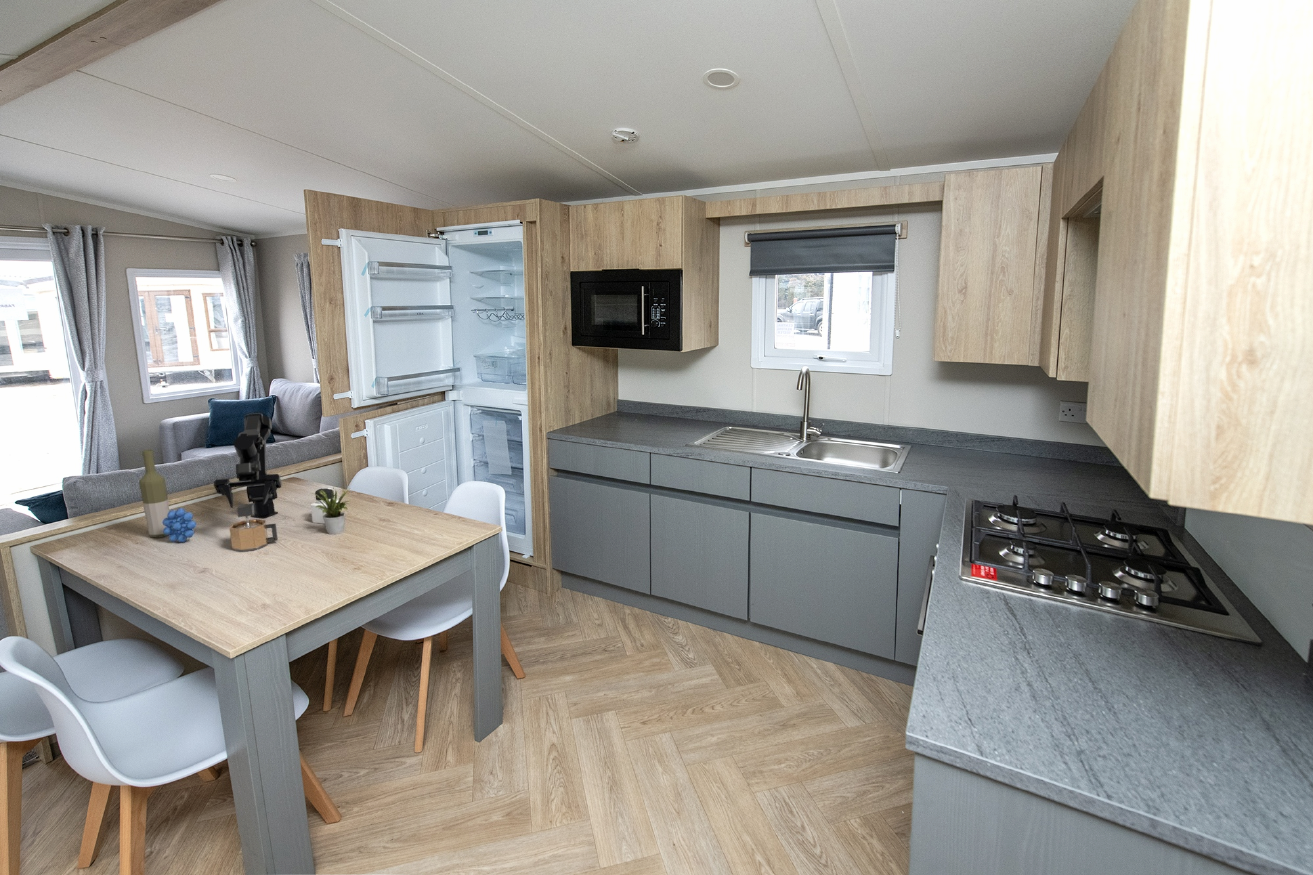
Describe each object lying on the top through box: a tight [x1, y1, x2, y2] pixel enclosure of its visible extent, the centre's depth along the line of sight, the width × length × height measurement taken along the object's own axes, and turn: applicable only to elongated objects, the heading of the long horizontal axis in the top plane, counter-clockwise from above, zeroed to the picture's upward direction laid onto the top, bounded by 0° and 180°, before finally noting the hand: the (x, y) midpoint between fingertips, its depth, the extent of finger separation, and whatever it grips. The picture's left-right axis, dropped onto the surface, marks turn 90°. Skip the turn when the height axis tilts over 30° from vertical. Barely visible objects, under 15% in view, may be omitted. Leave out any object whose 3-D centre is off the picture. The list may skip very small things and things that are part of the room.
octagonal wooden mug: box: [229, 518, 279, 553], centre depth 213 cm, size 10×13×8 cm
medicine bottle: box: [310, 487, 342, 525], centre depth 237 cm, size 7×7×12 cm
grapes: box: [162, 507, 197, 544], centre depth 216 cm, size 12×7×12 cm, turn 85°
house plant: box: [311, 487, 351, 535], centre depth 224 cm, size 14×14×16 cm
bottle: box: [138, 449, 170, 538], centre depth 219 cm, size 7×7×30 cm
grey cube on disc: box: [236, 502, 261, 529], centre depth 211 cm, size 7×7×8 cm
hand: (247, 505), depth 214 cm, fingers open, 9 cm apart
